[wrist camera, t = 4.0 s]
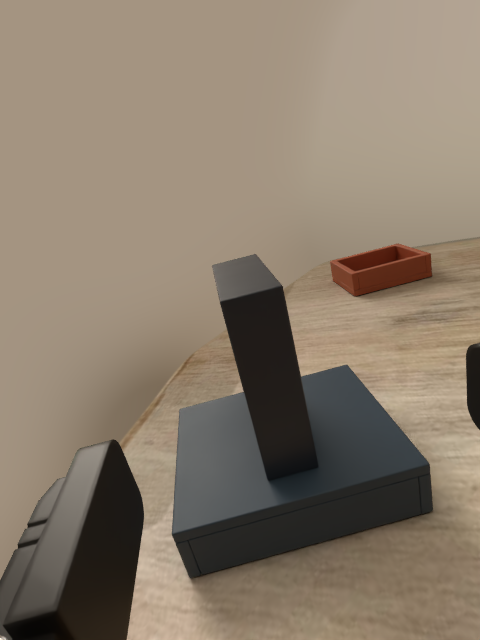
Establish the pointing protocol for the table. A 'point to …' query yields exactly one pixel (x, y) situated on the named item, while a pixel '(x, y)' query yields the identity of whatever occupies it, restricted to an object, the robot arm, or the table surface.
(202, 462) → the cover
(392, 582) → the table surface
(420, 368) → the table surface
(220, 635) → the table surface
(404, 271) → the tray
